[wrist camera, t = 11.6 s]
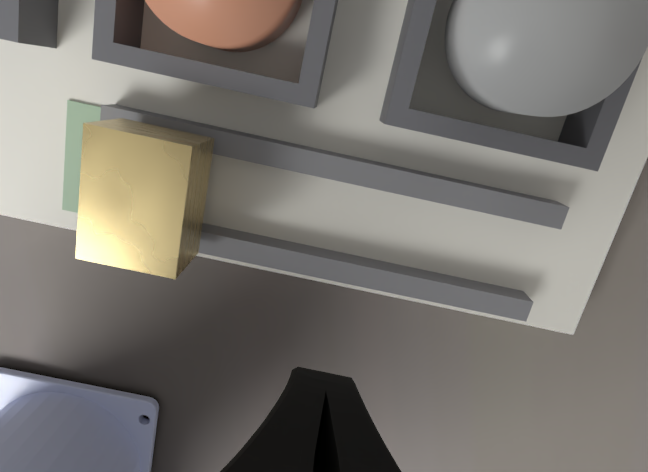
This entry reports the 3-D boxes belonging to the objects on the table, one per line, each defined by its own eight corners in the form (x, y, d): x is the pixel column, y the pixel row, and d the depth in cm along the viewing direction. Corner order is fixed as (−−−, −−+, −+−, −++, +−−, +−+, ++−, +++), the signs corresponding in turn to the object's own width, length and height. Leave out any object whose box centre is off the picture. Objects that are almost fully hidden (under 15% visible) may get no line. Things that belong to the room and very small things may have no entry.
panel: (556, 317, 20) (600, 362, 17) (-213, 155, 19) (-332, 168, 16) (697, -35, 16) (792, -69, 13) (-266, -265, 15) (-442, -369, 12)
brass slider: (207, 242, 17) (175, 279, 14) (127, 225, 17) (75, 258, 14) (223, 134, 16) (192, 146, 13) (137, 116, 16) (83, 122, 13)
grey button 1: (569, 127, 15) (613, 134, 12) (426, 95, 15) (443, 96, 12) (627, -35, 13) (690, -63, 11) (470, -73, 13) (500, -109, 11)
